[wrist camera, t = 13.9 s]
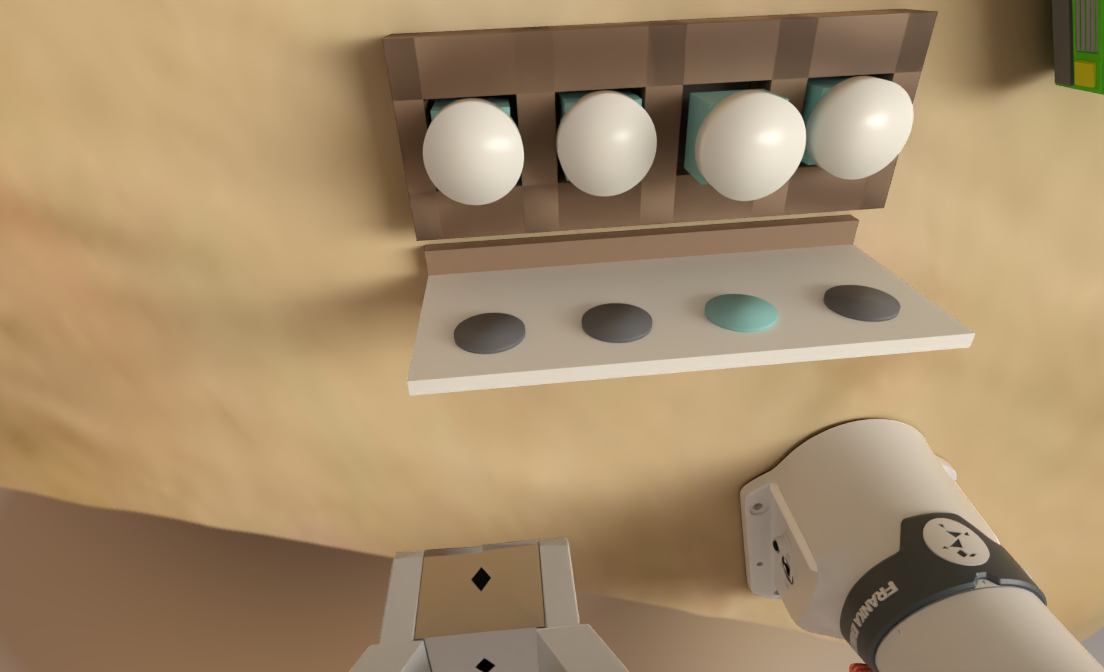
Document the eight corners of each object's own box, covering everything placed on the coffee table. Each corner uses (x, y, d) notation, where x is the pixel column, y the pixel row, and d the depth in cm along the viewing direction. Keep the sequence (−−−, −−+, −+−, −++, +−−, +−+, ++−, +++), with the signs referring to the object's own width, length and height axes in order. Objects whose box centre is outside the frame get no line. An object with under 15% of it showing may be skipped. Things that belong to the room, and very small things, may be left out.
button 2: (759, 172, 32) (795, 197, 28) (674, 177, 32) (699, 204, 28) (774, 77, 29) (815, 92, 26) (681, 82, 29) (709, 97, 25)
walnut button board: (856, 191, 36) (883, 207, 34) (422, 221, 35) (416, 240, 32) (901, 8, 31) (937, 11, 28) (391, 33, 29) (382, 39, 27)
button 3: (635, 169, 33) (654, 193, 29) (552, 174, 33) (560, 199, 29) (638, 78, 31) (659, 92, 27) (548, 83, 30) (557, 98, 27)
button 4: (522, 176, 33) (526, 202, 29) (437, 182, 33) (430, 208, 29) (516, 85, 30) (520, 100, 27) (424, 90, 30) (415, 106, 26)
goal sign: (836, 271, 39) (958, 373, 29) (435, 302, 38) (415, 422, 27) (850, 214, 37) (987, 303, 27) (425, 244, 35) (400, 352, 25)
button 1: (853, 155, 34) (898, 176, 30) (773, 160, 34) (809, 182, 30) (873, 65, 31) (925, 77, 28) (788, 70, 31) (829, 82, 27)
